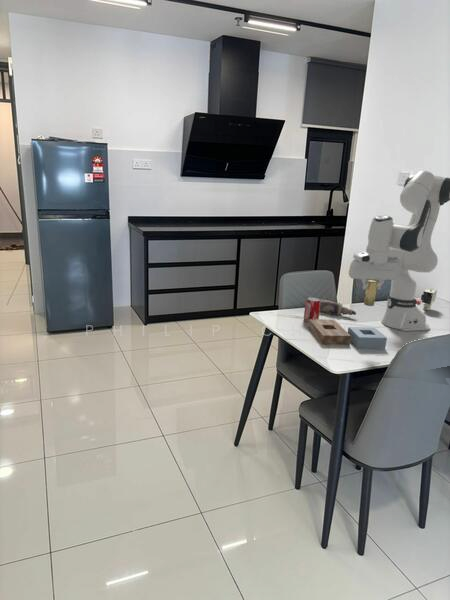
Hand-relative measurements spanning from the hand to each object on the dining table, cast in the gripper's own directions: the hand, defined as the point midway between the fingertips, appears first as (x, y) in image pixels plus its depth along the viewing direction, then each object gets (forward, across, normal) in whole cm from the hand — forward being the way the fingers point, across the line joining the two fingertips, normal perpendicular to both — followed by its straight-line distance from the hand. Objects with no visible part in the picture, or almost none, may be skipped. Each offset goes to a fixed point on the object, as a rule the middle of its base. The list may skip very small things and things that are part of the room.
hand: (371, 289), depth 182 cm
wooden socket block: (+25, +13, -7) cm, 29 cm away
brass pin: (+7, 0, 0) cm, 7 cm away
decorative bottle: (+25, +1, -41) cm, 48 cm away
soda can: (+25, +15, -26) cm, 39 cm away
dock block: (+25, -1, +1) cm, 25 cm away
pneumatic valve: (+26, -59, -53) cm, 83 cm away
